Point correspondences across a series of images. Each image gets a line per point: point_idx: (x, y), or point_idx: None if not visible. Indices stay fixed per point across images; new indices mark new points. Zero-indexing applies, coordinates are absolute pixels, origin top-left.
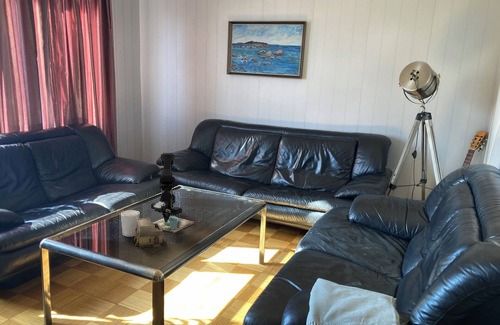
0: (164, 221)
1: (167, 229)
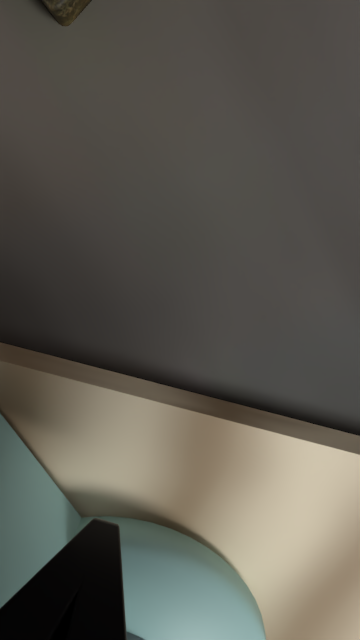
0: (213, 603)
1: (49, 367)
